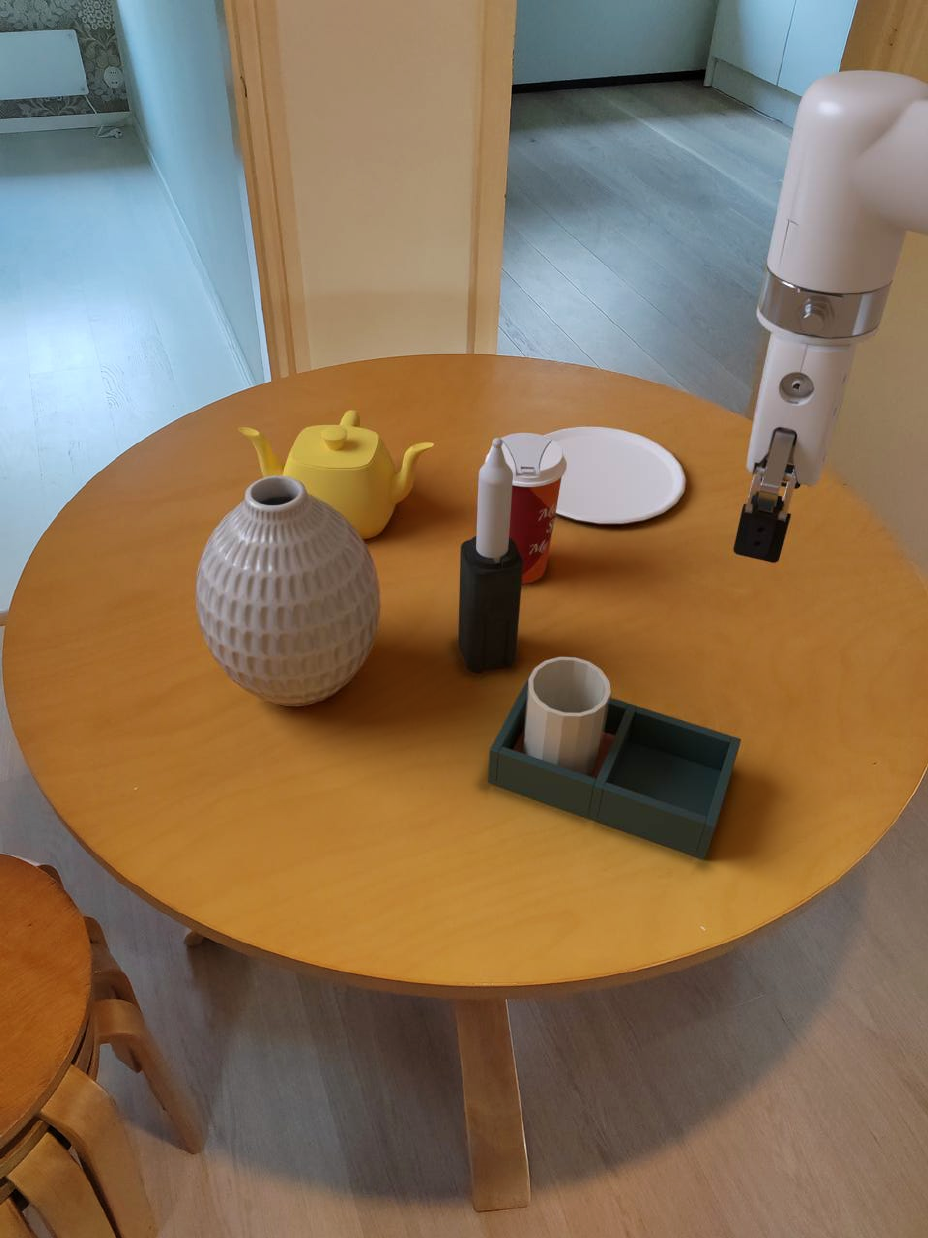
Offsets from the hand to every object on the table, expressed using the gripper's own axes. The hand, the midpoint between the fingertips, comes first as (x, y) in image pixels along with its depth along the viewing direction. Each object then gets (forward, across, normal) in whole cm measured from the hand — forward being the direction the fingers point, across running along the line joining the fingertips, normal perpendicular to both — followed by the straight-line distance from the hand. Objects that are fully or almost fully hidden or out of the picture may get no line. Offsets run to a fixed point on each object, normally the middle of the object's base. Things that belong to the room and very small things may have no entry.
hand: (767, 518), depth 73 cm
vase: (+25, -8, +38) cm, 46 cm away
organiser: (+25, -8, +8) cm, 28 cm away
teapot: (+24, +19, +48) cm, 57 cm away
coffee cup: (+25, +17, +25) cm, 39 cm away
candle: (+25, +3, +23) cm, 34 cm away
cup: (+24, -7, +12) cm, 28 cm away
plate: (+25, +37, +22) cm, 50 cm away
